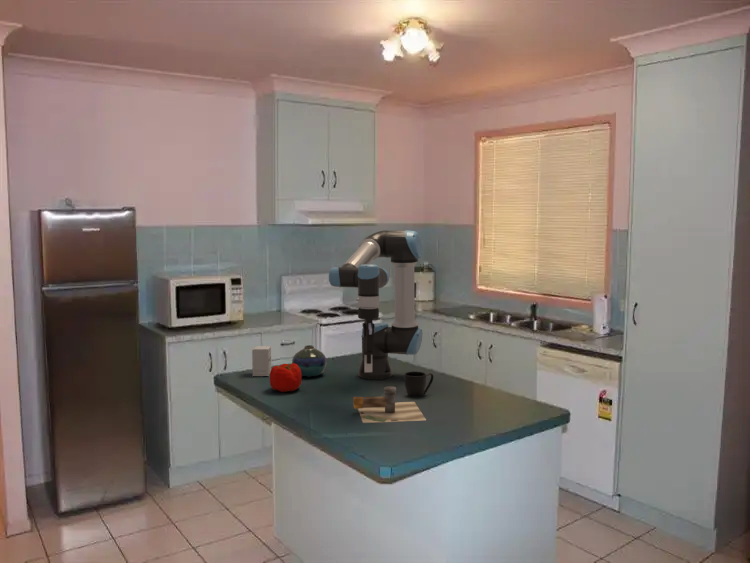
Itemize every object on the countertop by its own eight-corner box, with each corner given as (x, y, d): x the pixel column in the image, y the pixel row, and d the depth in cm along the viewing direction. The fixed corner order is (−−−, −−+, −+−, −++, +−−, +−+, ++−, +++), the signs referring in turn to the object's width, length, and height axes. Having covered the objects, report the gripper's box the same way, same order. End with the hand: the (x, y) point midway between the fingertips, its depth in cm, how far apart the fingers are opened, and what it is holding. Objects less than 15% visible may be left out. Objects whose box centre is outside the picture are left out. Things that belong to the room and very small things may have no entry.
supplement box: (268, 377, 283) (268, 349, 282) (252, 377, 283) (251, 349, 282) (271, 373, 290) (271, 345, 289) (255, 373, 290) (254, 345, 289)
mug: (438, 398, 251) (438, 374, 250) (410, 401, 246) (410, 377, 245) (428, 392, 258) (428, 369, 257) (401, 396, 254) (401, 372, 253)
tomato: (281, 396, 253) (280, 370, 252) (263, 389, 263) (263, 364, 262) (309, 390, 262) (309, 365, 261) (291, 384, 272) (291, 359, 271)
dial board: (356, 407, 239) (356, 403, 239) (414, 404, 242) (414, 401, 242) (362, 426, 217) (362, 422, 217) (426, 423, 220) (426, 419, 220)
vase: (297, 370, 295) (296, 342, 294) (329, 371, 293) (329, 343, 291) (288, 379, 280) (287, 349, 278) (322, 380, 278) (322, 350, 276)
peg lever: (395, 408, 232) (395, 386, 231) (397, 412, 228) (397, 389, 227) (353, 410, 230) (353, 387, 229) (354, 414, 226) (354, 391, 225)
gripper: (356, 305, 237) (356, 368, 239) (360, 310, 224) (360, 376, 226) (376, 304, 238) (376, 367, 240) (381, 309, 225) (381, 375, 227)
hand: (368, 371), depth 233 cm, fingers closed
